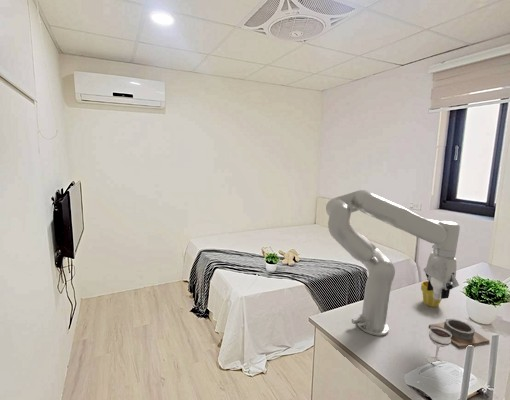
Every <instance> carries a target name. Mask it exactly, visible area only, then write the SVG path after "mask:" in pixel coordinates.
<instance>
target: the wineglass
mask: <svg viewBox="0 0 510 400" xmlns="http://www.w3.org/2000/svg"><path fill="white" fill-rule="evenodd" d="M429 329H430V330H429V332H428V338H429V340H430V341H431V343H432V344H434V345H435V346H436V350H435V357H434V356H429V357H427V358H426V359H427V362H428V363H429V362H430V364H431V363H432V362H436V361H441V359H439V358H438V355H439V350H440V348H446V347H448V346H450V344H452V343H451V337H452V334H451V333H450V332H449V331H448V330H446V329H444V328H442V327H438V326H432V327H429Z"/></svg>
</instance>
